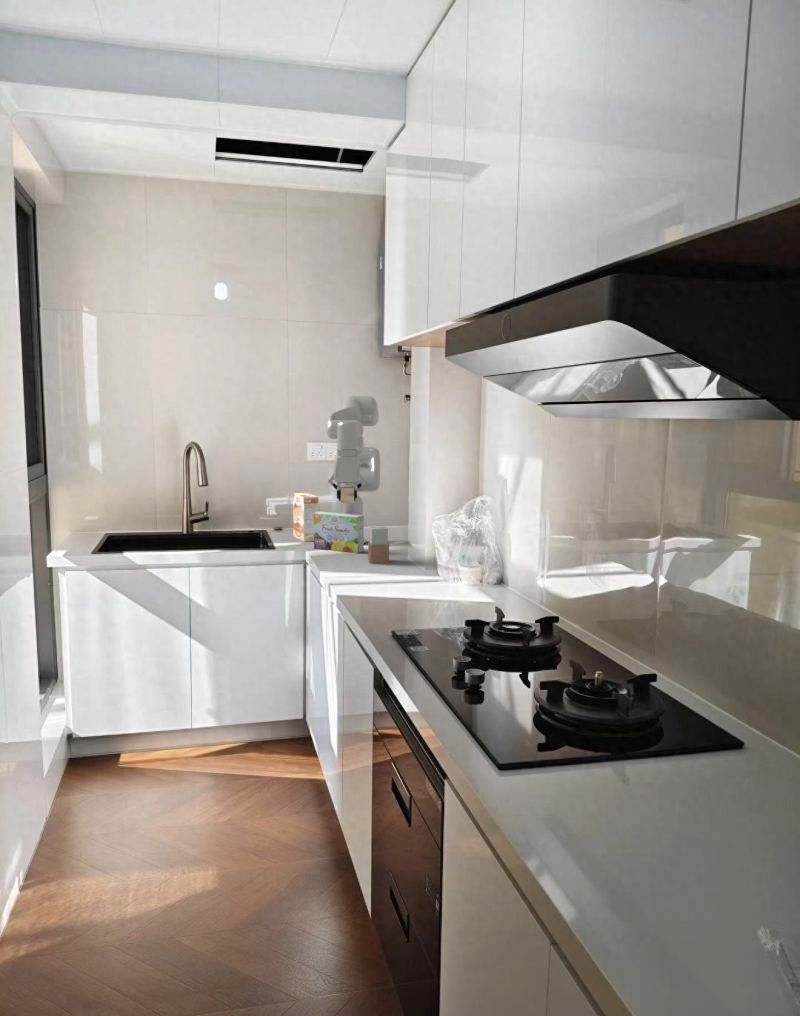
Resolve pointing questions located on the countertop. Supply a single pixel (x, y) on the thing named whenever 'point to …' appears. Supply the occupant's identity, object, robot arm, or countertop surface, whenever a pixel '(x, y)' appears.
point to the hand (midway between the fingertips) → (346, 500)
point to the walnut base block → (378, 553)
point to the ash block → (347, 494)
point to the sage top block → (378, 536)
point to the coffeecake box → (304, 516)
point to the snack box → (339, 532)
